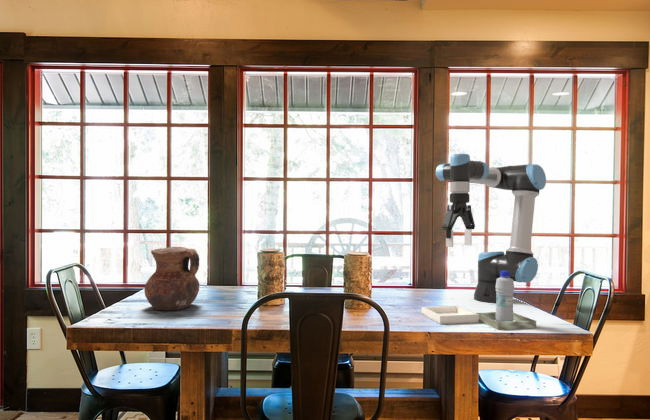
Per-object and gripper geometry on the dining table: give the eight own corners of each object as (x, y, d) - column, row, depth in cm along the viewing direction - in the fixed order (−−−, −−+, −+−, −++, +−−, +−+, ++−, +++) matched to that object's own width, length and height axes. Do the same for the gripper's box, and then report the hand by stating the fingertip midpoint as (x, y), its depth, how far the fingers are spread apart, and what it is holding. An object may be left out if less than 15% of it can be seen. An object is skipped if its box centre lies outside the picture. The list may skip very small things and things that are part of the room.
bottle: (506, 326, 168) (507, 272, 168) (491, 322, 173) (491, 270, 173) (517, 324, 171) (518, 271, 171) (502, 320, 177) (503, 269, 177)
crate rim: (509, 317, 182) (510, 311, 182) (536, 327, 166) (536, 320, 166) (474, 319, 178) (474, 312, 178) (498, 329, 163) (498, 322, 163)
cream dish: (457, 312, 189) (457, 305, 189) (478, 322, 173) (478, 314, 173) (421, 314, 185) (421, 307, 185) (439, 324, 170) (440, 316, 170)
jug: (139, 313, 180) (140, 250, 180) (148, 303, 201) (149, 246, 201) (197, 311, 185) (198, 250, 185) (200, 301, 205) (201, 246, 205)
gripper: (467, 193, 193) (466, 244, 193) (433, 192, 176) (432, 246, 176) (484, 193, 187) (483, 245, 187) (450, 191, 170) (450, 248, 171)
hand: (459, 246), depth 182 cm, fingers open, 13 cm apart
